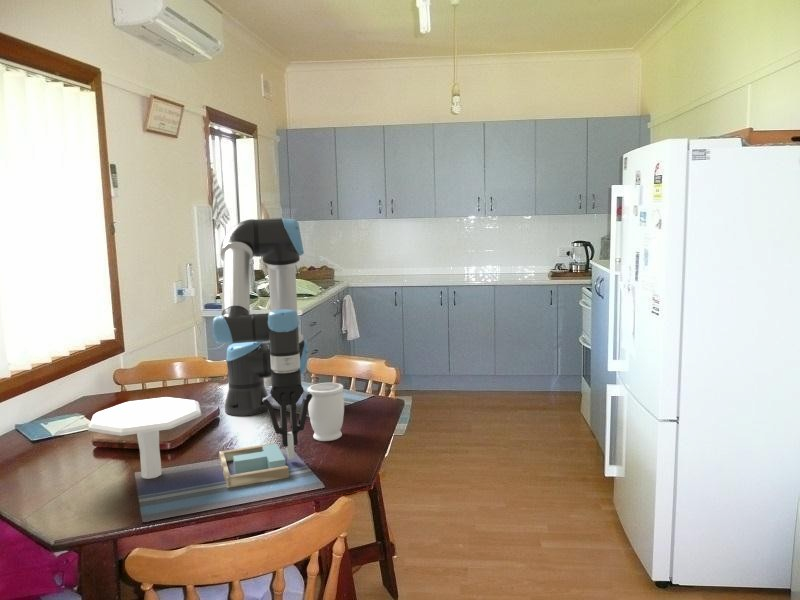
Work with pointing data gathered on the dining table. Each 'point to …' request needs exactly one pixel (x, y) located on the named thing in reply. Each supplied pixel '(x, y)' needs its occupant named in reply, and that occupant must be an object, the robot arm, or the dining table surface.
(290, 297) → the robot arm
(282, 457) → the t block
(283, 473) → the dock
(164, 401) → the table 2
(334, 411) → the jar
